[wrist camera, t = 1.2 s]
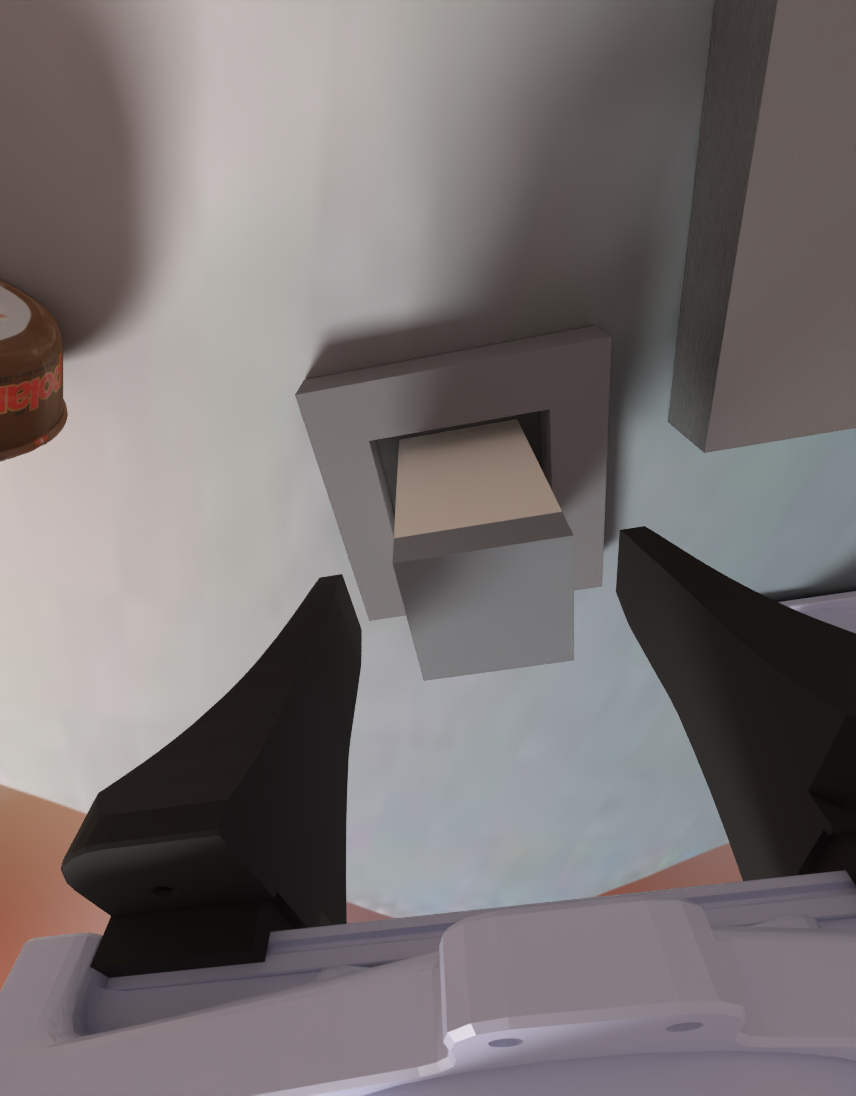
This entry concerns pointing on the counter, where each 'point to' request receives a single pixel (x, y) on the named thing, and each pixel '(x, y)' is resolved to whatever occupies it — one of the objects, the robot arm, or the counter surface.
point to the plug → (481, 553)
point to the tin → (28, 374)
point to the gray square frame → (455, 399)
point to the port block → (772, 230)
